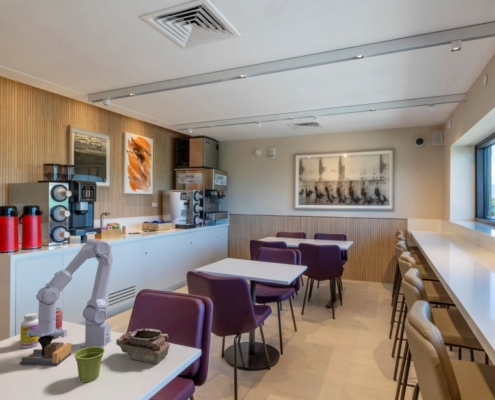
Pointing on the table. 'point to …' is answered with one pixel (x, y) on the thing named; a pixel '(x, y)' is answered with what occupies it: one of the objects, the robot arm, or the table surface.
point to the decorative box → (144, 345)
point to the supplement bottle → (26, 325)
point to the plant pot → (89, 363)
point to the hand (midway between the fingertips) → (46, 355)
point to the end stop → (61, 353)
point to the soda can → (58, 320)
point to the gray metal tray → (40, 359)
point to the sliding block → (52, 348)
